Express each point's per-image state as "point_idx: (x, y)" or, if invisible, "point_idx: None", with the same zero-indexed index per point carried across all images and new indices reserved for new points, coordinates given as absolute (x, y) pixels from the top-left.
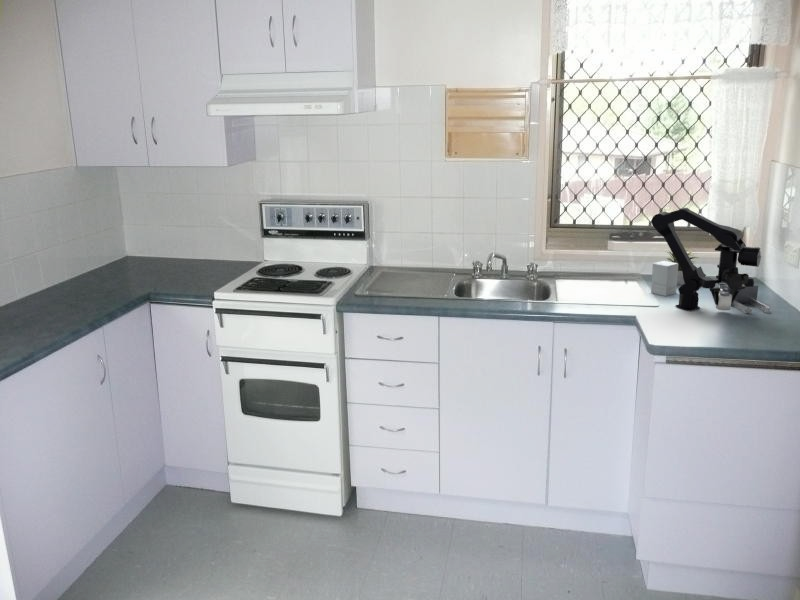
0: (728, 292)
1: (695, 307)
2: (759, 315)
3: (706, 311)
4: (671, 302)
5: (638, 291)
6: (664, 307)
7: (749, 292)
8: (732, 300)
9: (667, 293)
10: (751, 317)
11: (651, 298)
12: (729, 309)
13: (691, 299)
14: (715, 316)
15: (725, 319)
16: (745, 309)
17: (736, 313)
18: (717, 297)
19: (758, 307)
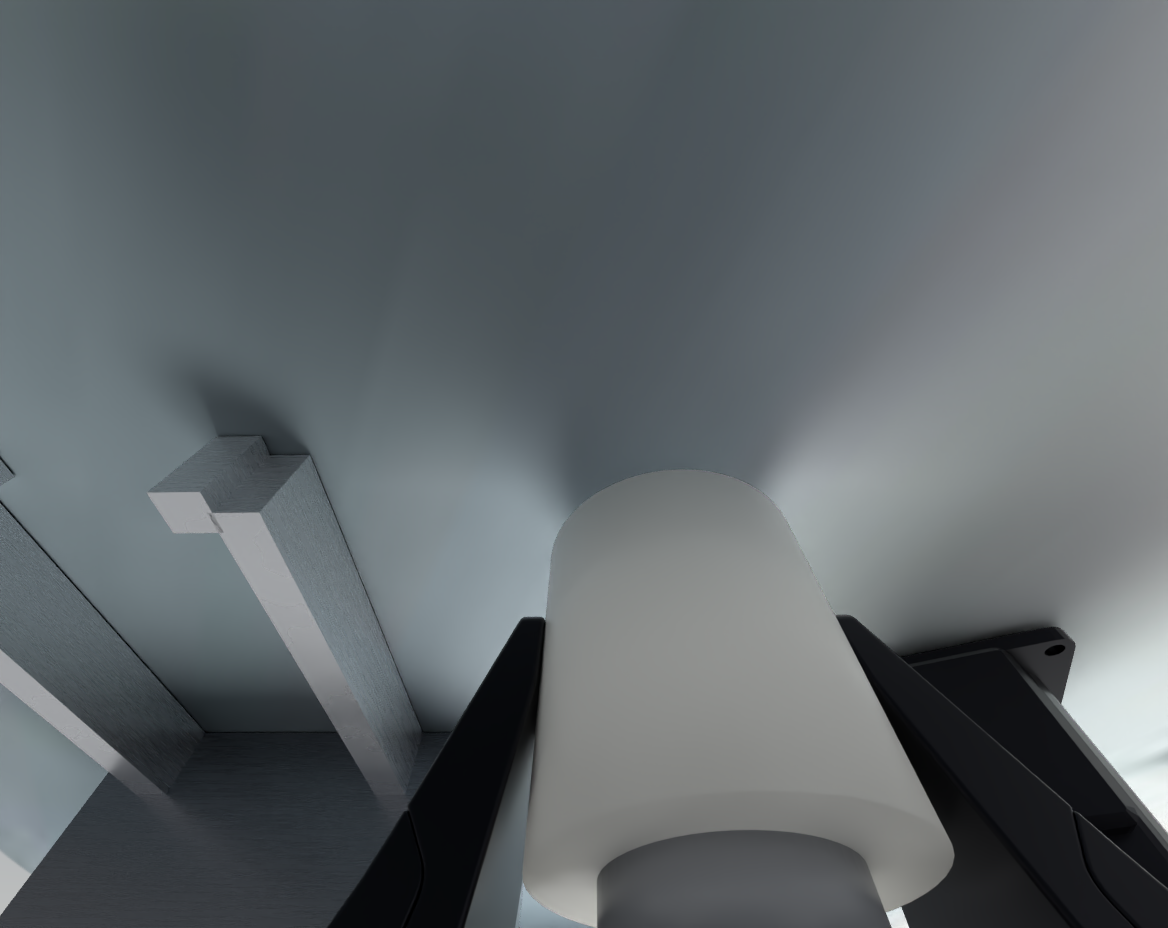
0: None
1: (958, 668)
2: (77, 336)
3: (831, 588)
4: None
5: None
6: (1159, 725)
7: (128, 890)
8: (514, 689)
9: None
10: (241, 224)
11: None
12: (610, 491)
13: (1132, 803)
14: (897, 370)
15: (864, 137)
16: (287, 516)
17: (458, 476)
18: (1013, 795)
19: (104, 633)
